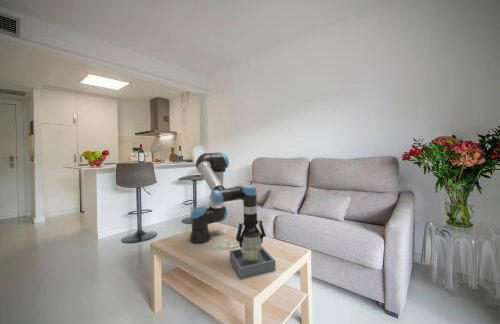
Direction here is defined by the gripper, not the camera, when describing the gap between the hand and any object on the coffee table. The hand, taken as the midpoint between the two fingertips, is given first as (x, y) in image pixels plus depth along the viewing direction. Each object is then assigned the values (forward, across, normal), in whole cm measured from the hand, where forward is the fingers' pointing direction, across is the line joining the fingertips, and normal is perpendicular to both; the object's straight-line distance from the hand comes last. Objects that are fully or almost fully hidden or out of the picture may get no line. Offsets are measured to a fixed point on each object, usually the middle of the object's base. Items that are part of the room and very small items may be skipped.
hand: (251, 250), depth 121 cm
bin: (+9, 0, 0) cm, 9 cm away
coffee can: (+3, 0, 0) cm, 3 cm away
